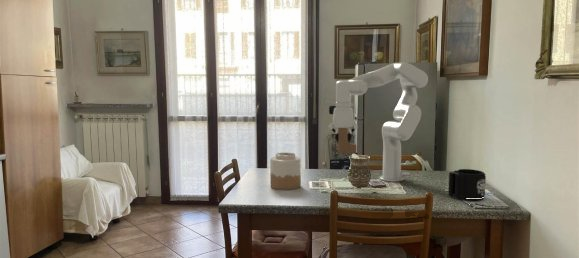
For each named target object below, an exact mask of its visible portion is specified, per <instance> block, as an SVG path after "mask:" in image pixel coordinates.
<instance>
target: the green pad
mask: <svg viewBox="0 0 579 258" xmlns="http://www.w3.org/2000/svg"><path fill="white" fill-rule="evenodd" d="M332 185H333V187H334V189H354V186H353V184H352V183H351V182H350V181H332Z"/></svg>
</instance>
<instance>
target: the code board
mask: <svg viewBox="0 0 579 258" xmlns="http://www.w3.org/2000/svg"><path fill="white" fill-rule="evenodd" d="M313 184H315V186H320V187H313ZM322 184H325V187H323V185H322ZM308 186H309V187H308V188H309V190H330V189H331V188H330V184H329V181H326V180H325V181H323V180H322V181H320V180H319V181H311V180H310V181H308Z"/></svg>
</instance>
